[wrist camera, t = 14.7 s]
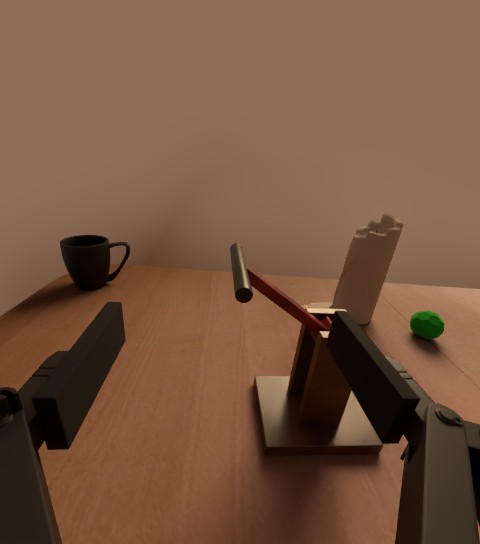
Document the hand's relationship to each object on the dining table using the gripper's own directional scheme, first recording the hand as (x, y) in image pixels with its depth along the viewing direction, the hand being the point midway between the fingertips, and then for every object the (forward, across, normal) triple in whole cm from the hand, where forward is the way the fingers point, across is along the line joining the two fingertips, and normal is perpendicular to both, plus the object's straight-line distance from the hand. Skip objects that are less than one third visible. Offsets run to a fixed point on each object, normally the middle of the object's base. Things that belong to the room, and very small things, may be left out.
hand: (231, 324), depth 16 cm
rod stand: (+7, +11, -17) cm, 21 cm away
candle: (+29, +24, -17) cm, 41 cm away
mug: (+37, -25, -17) cm, 48 cm away
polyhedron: (+22, +37, -17) cm, 47 cm away
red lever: (+7, +5, -4) cm, 9 cm away
